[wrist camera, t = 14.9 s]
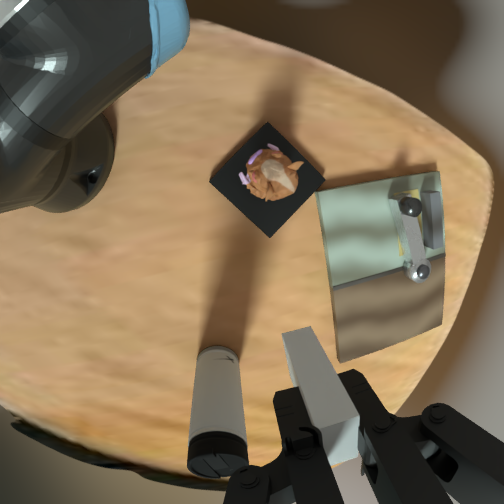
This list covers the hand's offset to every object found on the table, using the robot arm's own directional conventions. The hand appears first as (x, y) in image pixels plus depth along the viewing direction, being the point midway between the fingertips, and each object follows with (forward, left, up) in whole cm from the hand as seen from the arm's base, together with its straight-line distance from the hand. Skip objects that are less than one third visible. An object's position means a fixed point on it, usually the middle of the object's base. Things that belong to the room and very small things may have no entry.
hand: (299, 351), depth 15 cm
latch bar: (+3, +21, -23) cm, 31 cm away
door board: (+8, +19, -24) cm, 32 cm away
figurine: (-8, +3, -25) cm, 26 cm away
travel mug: (+16, -9, -25) cm, 31 cm away
